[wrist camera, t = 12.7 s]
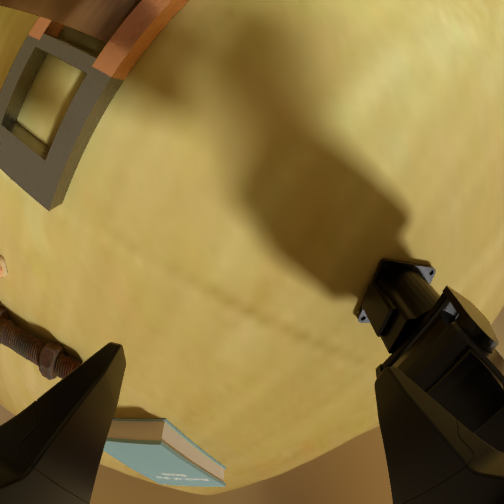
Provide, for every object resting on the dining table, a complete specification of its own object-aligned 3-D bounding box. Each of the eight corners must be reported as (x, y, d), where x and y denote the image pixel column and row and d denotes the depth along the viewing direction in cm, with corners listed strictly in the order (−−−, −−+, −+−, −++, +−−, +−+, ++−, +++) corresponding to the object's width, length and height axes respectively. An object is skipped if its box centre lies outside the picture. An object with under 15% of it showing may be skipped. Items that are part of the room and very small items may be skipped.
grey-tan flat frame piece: (121, -58, 8) (113, -68, 6) (221, -30, 11) (219, -42, 9) (-5, 146, 15) (-19, 150, 14) (62, 203, 18) (48, 210, 17)
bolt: (92, 357, 29) (6, 310, 26) (86, 351, 25) (-7, 297, 22) (80, 396, 26) (-7, 345, 22) (72, 397, 22) (-23, 337, 18)
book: (226, 465, 42) (225, 486, 37) (159, 465, 44) (156, 483, 39) (166, 415, 32) (160, 444, 28) (90, 414, 34) (82, 437, 30)
